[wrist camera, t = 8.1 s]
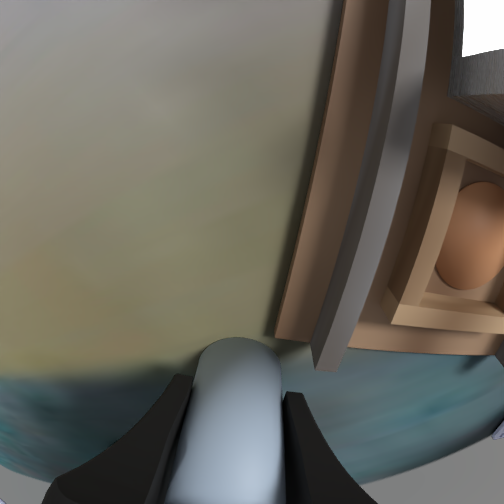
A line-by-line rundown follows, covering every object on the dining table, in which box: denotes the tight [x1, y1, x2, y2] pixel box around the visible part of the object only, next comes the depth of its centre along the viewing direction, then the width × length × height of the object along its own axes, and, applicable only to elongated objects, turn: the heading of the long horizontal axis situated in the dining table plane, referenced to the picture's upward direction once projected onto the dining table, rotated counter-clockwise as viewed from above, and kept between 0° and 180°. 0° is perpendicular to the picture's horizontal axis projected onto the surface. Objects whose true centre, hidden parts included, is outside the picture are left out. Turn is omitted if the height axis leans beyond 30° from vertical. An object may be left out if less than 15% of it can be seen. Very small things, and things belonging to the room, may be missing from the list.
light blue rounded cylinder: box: [164, 337, 286, 504], centre depth 10 cm, size 4×4×7 cm
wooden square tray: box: [274, 0, 504, 372], centre depth 9 cm, size 14×15×2 cm
